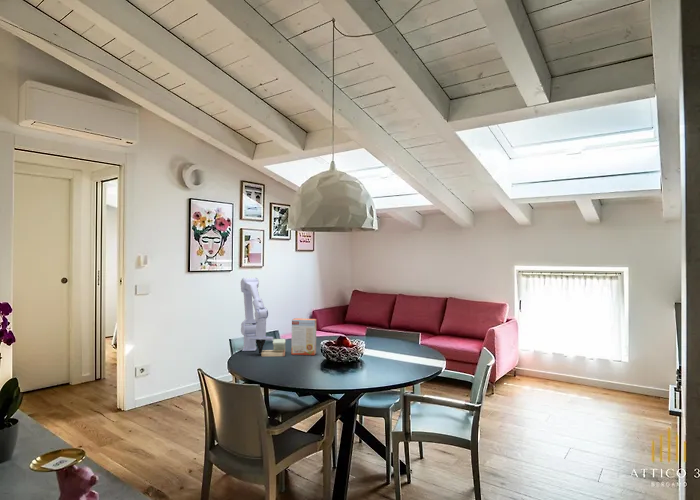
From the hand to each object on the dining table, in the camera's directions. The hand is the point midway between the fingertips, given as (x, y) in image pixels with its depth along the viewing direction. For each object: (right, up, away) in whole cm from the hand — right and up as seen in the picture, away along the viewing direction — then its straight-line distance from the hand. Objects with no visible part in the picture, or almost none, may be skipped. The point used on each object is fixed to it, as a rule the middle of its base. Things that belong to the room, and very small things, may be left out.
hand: (260, 352), depth 254 cm
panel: (+7, -2, +1) cm, 7 cm away
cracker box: (+25, -2, +4) cm, 25 cm away
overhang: (+11, -1, +2) cm, 11 cm away
